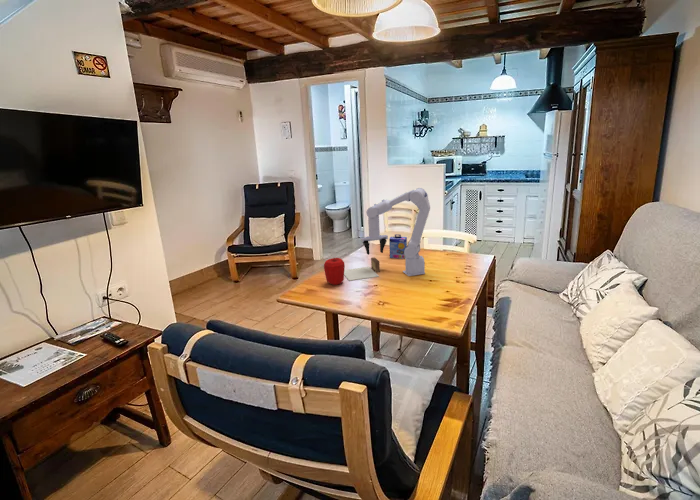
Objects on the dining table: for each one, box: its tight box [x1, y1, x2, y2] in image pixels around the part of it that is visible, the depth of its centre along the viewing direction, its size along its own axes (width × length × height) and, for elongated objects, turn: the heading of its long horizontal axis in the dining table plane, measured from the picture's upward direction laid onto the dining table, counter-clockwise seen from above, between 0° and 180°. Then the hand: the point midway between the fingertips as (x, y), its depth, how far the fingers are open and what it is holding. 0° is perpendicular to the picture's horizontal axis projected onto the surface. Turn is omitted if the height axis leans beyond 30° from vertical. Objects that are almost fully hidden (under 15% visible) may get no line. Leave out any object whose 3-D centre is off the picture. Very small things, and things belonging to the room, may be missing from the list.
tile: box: [370, 256, 381, 273], centre depth 209 cm, size 2×8×6 cm, turn 15°
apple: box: [323, 257, 345, 286], centre depth 191 cm, size 11×10×14 cm
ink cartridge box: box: [388, 234, 408, 260], centre depth 227 cm, size 10×6×14 cm, turn 74°
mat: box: [344, 266, 380, 282], centre depth 204 cm, size 16×16×1 cm
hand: (374, 253), depth 207 cm, fingers open, 7 cm apart
